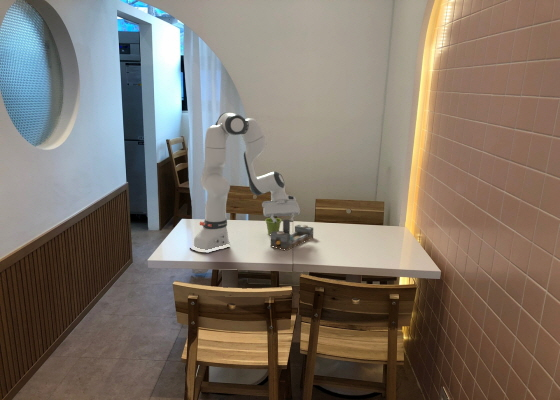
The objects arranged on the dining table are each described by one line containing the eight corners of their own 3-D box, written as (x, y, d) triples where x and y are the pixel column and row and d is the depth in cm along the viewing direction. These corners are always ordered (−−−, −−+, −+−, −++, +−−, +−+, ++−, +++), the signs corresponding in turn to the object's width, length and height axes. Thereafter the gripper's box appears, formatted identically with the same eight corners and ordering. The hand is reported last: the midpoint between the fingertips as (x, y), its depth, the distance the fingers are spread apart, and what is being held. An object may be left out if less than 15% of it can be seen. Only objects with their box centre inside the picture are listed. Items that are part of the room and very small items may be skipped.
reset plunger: (279, 245, 241) (279, 241, 241) (275, 244, 242) (275, 240, 242) (284, 242, 245) (284, 239, 245) (281, 242, 246) (281, 238, 246)
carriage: (286, 244, 245) (287, 222, 242) (279, 242, 247) (279, 221, 245) (293, 241, 249) (293, 220, 246) (285, 239, 252) (285, 218, 249)
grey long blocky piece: (285, 250, 240) (286, 235, 238) (270, 246, 246) (270, 231, 244) (313, 237, 261) (313, 223, 259) (298, 234, 267) (298, 220, 265)
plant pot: (281, 236, 263) (281, 222, 261) (264, 236, 263) (264, 222, 261) (281, 232, 272) (281, 217, 270) (265, 231, 272) (265, 217, 270)
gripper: (262, 198, 252) (265, 220, 245) (298, 196, 257) (302, 218, 250) (260, 204, 257) (264, 225, 250) (295, 202, 262) (300, 223, 255)
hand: (283, 222), depth 250 cm, fingers open, 8 cm apart
